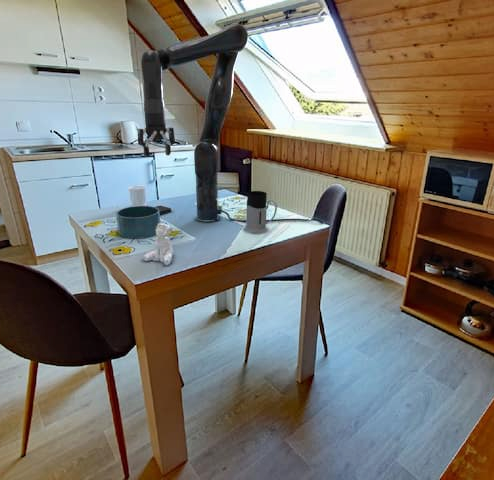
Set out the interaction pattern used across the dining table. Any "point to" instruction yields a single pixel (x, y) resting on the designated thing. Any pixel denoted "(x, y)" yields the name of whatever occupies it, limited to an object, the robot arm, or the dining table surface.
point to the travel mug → (257, 212)
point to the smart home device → (163, 209)
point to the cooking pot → (137, 221)
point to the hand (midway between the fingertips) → (157, 156)
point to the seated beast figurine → (161, 245)
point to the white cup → (137, 195)
